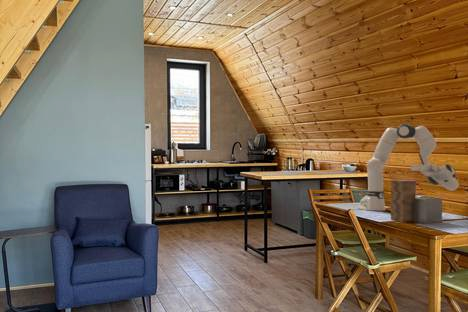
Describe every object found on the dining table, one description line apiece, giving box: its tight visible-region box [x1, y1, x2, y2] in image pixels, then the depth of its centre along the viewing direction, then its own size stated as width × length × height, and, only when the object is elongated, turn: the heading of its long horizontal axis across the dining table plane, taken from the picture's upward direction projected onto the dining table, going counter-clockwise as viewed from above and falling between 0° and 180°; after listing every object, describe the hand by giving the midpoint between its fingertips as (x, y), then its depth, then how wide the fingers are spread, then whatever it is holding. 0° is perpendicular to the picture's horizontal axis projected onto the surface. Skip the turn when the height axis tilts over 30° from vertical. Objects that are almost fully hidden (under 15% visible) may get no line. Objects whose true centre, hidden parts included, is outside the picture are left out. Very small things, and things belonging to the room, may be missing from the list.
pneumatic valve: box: [416, 194, 427, 198], centre depth 327 cm, size 6×12×12 cm, turn 9°
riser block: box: [412, 196, 443, 225], centre depth 279 cm, size 10×14×15 cm
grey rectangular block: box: [410, 164, 438, 172], centre depth 293 cm, size 4×20×4 cm, turn 115°
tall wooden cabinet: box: [389, 179, 417, 223], centre depth 286 cm, size 11×12×26 cm
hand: (428, 166), depth 295 cm, fingers closed on grey rectangular block, 3 cm apart
